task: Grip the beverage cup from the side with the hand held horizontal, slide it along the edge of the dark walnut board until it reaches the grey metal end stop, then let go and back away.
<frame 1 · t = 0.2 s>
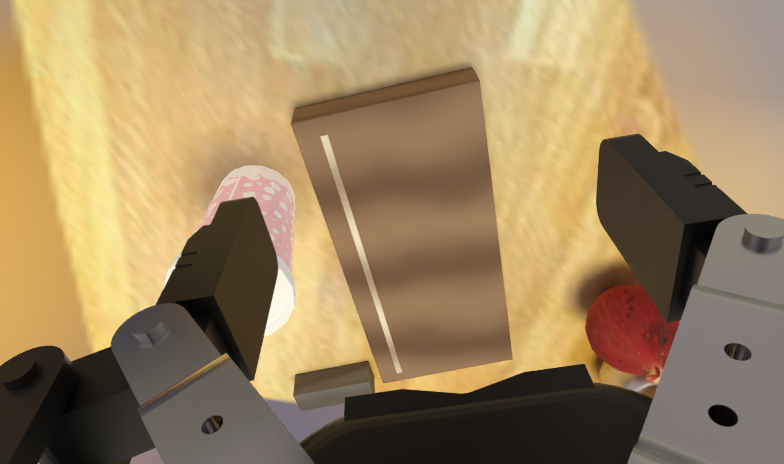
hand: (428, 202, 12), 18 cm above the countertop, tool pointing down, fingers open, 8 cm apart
beverage cup: (258, 196, 33), on the countertop
walnut board: (418, 243, 35), on the countertop
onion: (609, 289, 39), on the countertop
plastic bottle: (630, 354, 44), on the countertop
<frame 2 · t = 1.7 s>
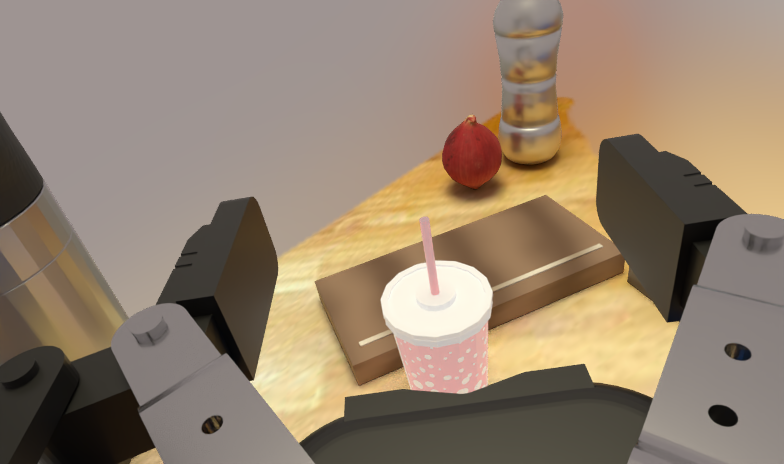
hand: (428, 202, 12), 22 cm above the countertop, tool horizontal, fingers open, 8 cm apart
beverage cup: (451, 401, 34), on the countertop
walnut board: (466, 286, 42), on the countertop
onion: (474, 189, 54), on the countertop
plastic bottle: (529, 158, 58), on the countertop
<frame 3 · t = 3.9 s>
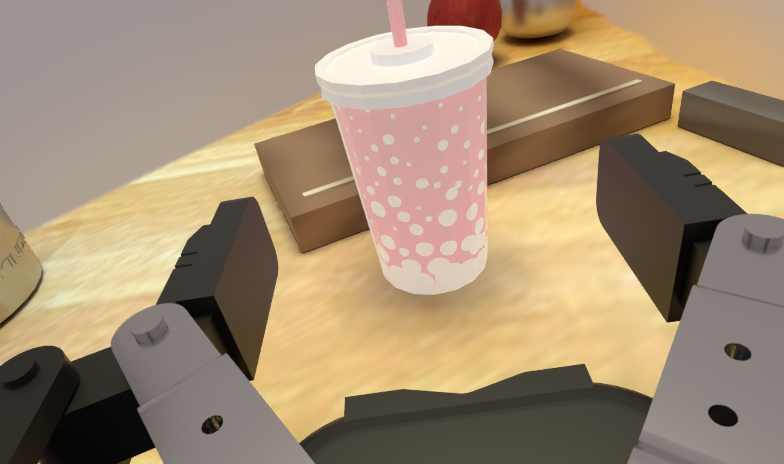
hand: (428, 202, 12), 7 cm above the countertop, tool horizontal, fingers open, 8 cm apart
beverage cup: (434, 263, 23), on the countertop
walnut board: (457, 146, 31), on the countertop
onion: (468, 66, 44), on the countertop
plastic bottle: (536, 37, 47), on the countertop
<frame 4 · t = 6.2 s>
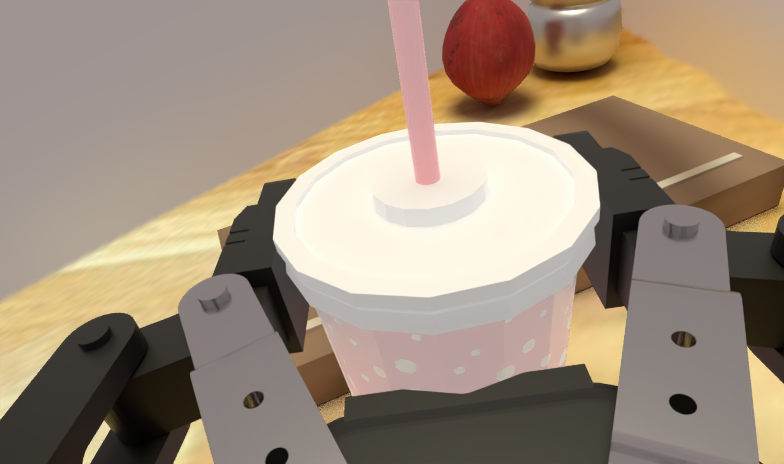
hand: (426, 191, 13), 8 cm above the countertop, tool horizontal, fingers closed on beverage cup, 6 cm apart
beverage cup: (467, 462, 15), on the countertop, touching gripper
walnut board: (487, 236, 24), on the countertop
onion: (491, 107, 36), on the countertop
plastic bottle: (571, 69, 39), on the countertop
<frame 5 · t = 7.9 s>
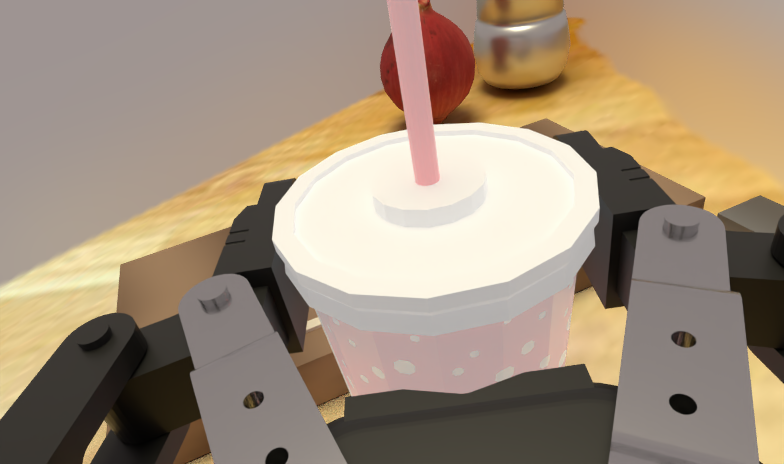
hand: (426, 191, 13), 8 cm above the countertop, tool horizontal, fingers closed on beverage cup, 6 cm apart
walnut board: (399, 271, 23), on the countertop
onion: (435, 126, 35), on the countertop
plastic bottle: (521, 85, 38), on the countertop
when the fingers open (8 cm above the countertop, at t = 10.1 s): beverage cup stays where it is, on the countertop.
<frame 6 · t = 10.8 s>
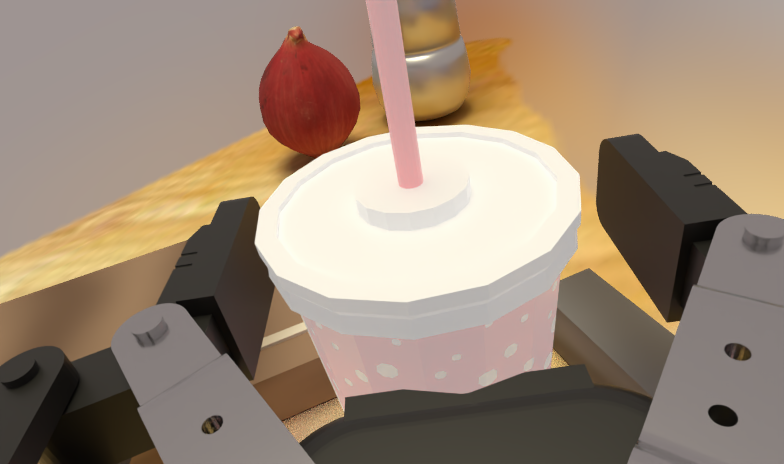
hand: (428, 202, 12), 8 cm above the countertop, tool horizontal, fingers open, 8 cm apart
walnut board: (223, 339, 21), on the countertop
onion: (325, 161, 33), on the countertop
plastic bottle: (426, 115, 37), on the countertop
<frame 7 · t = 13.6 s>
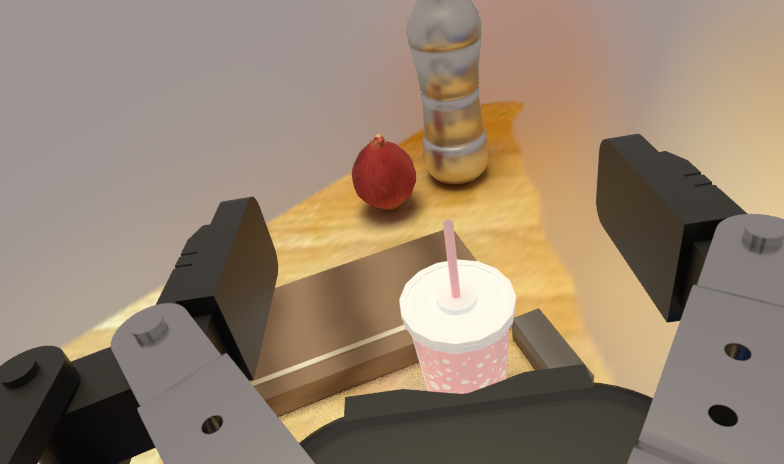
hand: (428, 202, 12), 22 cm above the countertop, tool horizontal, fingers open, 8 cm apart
beverage cup: (467, 399, 33), on the countertop
walnut board: (345, 331, 39), on the countertop
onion: (390, 210, 51), on the countertop
plastic bottle: (457, 175, 54), on the countertop
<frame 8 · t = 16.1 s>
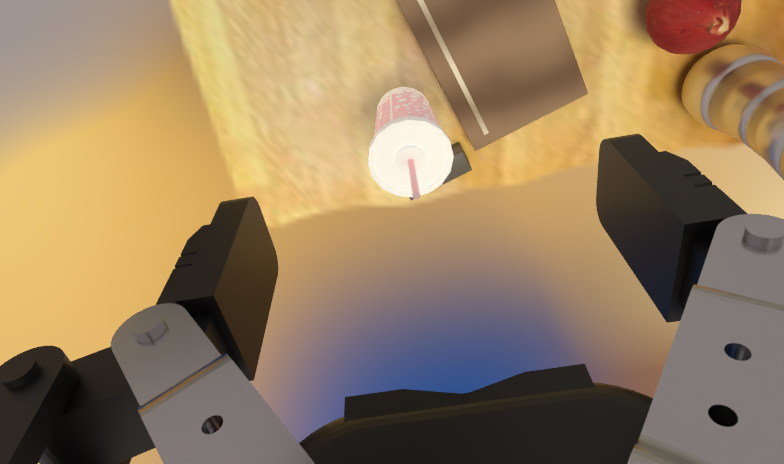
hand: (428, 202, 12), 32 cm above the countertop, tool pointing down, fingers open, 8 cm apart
beverage cup: (403, 112, 45), on the countertop
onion: (666, 0, 41), on the countertop
plastic bottle: (711, 76, 44), on the countertop
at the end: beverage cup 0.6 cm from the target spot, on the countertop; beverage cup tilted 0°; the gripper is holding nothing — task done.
